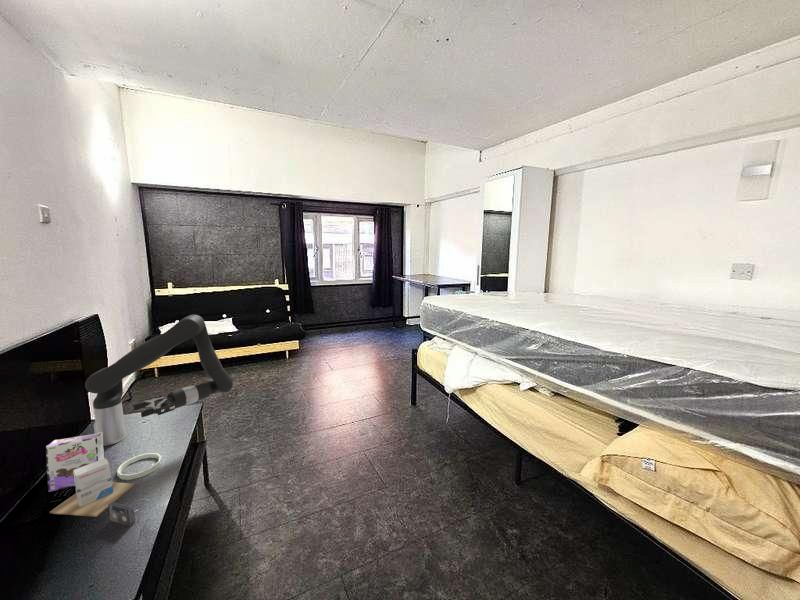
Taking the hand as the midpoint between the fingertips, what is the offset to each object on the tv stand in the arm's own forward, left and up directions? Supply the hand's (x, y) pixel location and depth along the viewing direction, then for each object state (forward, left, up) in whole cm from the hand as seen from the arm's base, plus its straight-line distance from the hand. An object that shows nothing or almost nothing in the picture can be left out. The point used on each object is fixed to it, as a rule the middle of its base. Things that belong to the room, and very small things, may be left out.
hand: (137, 411), depth 124 cm
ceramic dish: (+1, -2, -23) cm, 23 cm away
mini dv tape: (+17, -26, -23) cm, 39 cm away
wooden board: (-1, -18, -23) cm, 29 cm away
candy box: (-14, -12, -23) cm, 29 cm away
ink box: (-1, -18, -22) cm, 29 cm away
